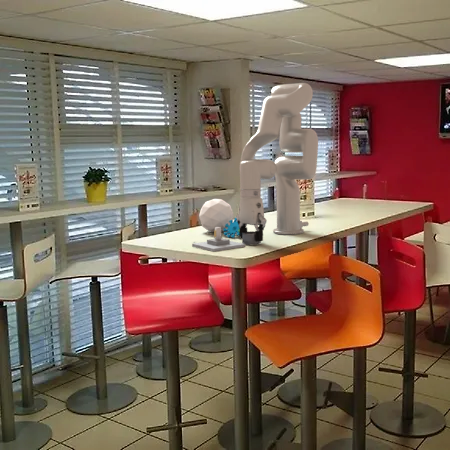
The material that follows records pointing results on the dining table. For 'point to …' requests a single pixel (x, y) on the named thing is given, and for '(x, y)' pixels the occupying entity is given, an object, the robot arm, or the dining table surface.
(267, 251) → the dining table surface
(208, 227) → the geometric sphere
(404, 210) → the dining table surface
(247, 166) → the robot arm
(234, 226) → the gear
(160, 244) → the dining table surface
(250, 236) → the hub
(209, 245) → the shaft stand
